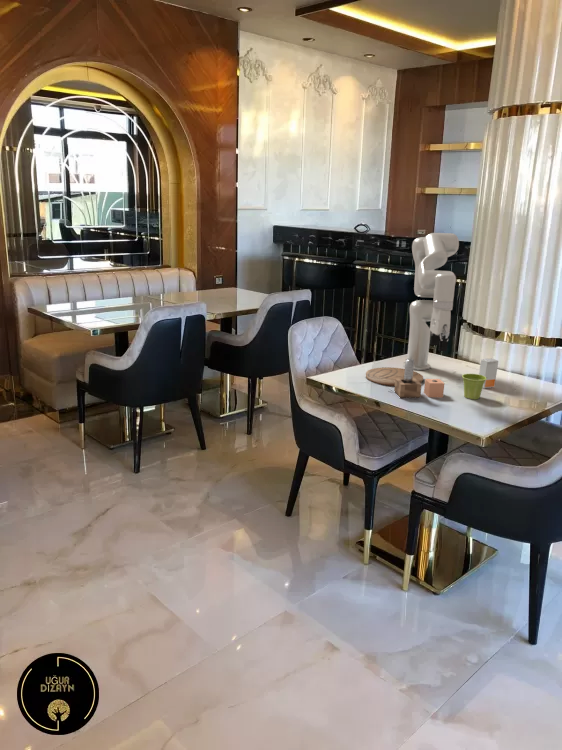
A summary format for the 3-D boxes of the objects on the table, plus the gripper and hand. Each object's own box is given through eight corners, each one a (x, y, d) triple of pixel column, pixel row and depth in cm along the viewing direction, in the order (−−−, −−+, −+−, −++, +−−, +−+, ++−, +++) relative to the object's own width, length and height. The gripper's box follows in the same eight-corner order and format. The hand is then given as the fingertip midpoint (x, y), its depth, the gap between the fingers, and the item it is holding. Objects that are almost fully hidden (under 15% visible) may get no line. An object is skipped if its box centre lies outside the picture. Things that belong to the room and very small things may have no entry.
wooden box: (394, 392, 254) (395, 378, 252) (414, 392, 255) (415, 378, 253) (399, 398, 246) (400, 384, 244) (420, 398, 247) (421, 384, 245)
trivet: (430, 377, 277) (430, 373, 277) (412, 391, 256) (412, 387, 256) (377, 368, 289) (378, 364, 288) (356, 381, 268) (356, 377, 268)
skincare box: (483, 388, 262) (487, 361, 258) (477, 385, 265) (480, 359, 262) (495, 387, 264) (498, 360, 260) (488, 384, 268) (491, 358, 264)
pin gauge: (401, 391, 252) (404, 358, 248) (409, 391, 252) (412, 358, 248) (404, 394, 248) (407, 360, 245) (412, 394, 249) (415, 360, 245)
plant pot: (466, 401, 245) (469, 380, 242) (455, 394, 254) (458, 373, 251) (488, 400, 247) (490, 379, 244) (476, 393, 255) (479, 373, 253)
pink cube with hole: (423, 392, 254) (425, 378, 252) (437, 392, 255) (439, 378, 253) (428, 397, 248) (429, 383, 247) (442, 397, 249) (444, 383, 247)
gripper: (426, 301, 249) (422, 343, 253) (440, 308, 232) (436, 353, 237) (444, 301, 250) (440, 343, 254) (460, 309, 233) (455, 353, 238)
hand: (438, 348), depth 246 cm, fingers open, 9 cm apart
